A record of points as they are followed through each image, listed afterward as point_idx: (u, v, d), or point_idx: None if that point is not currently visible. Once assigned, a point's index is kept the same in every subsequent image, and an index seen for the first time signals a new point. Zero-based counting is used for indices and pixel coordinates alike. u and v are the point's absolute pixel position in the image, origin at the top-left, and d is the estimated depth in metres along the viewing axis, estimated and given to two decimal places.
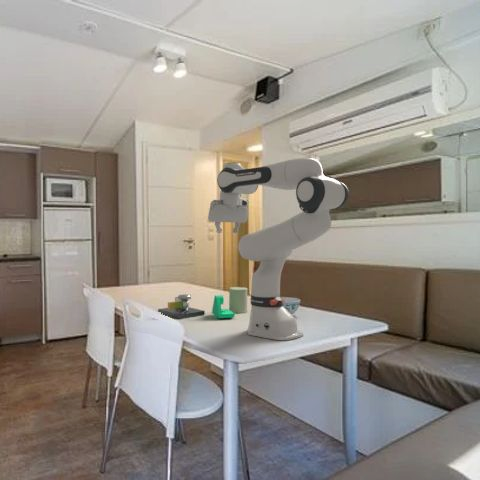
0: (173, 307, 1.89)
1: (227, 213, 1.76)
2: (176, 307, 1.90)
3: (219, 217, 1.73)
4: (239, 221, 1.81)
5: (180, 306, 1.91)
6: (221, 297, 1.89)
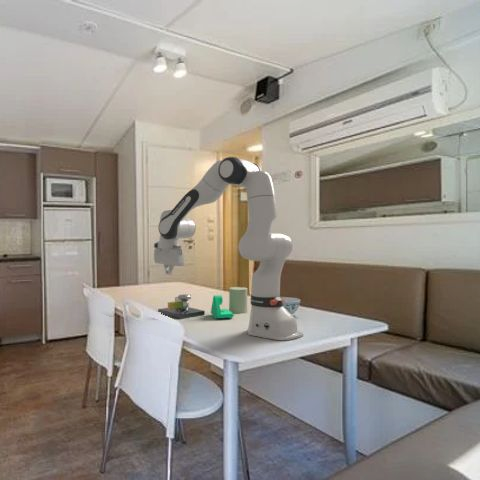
0: (173, 307, 1.89)
1: None
2: (176, 307, 1.90)
3: None
4: None
5: (180, 306, 1.91)
6: (220, 297, 1.88)
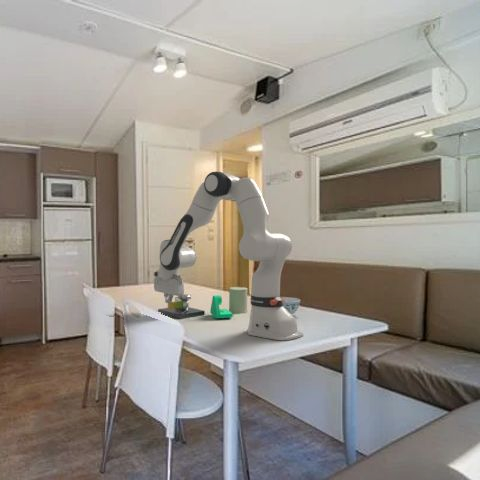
0: (173, 307, 1.89)
1: None
2: (176, 307, 1.90)
3: None
4: None
5: (180, 306, 1.91)
6: (219, 297, 1.88)
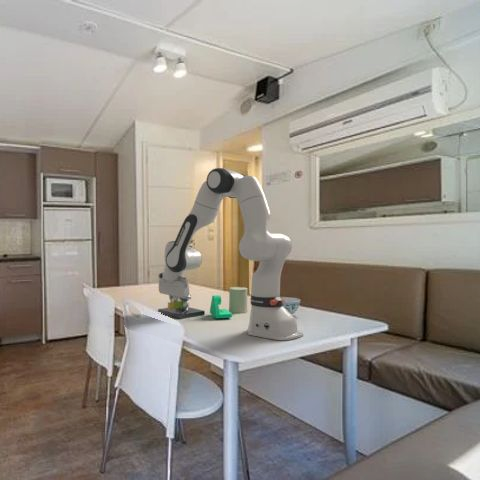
0: (173, 307, 1.88)
1: None
2: (176, 307, 1.90)
3: None
4: None
5: (180, 306, 1.91)
6: (219, 297, 1.88)
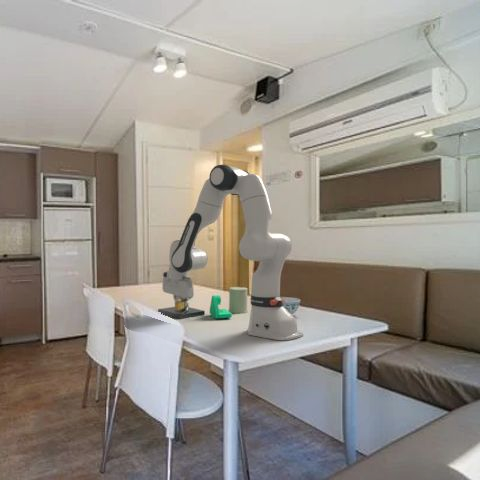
0: (180, 308, 1.87)
1: None
2: (181, 307, 1.89)
3: None
4: None
5: (183, 306, 1.91)
6: (218, 297, 1.88)
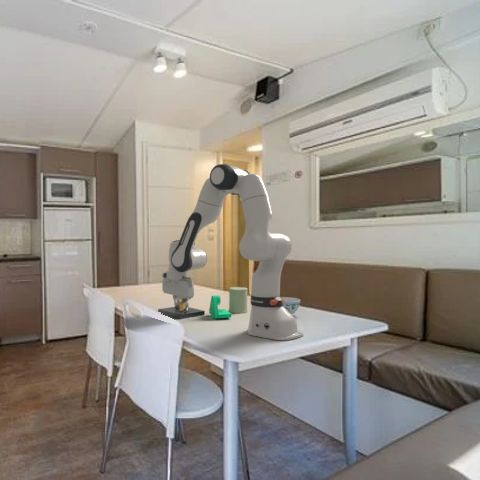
0: (184, 308, 1.87)
1: None
2: (184, 308, 1.89)
3: None
4: None
5: (185, 306, 1.91)
6: (218, 297, 1.88)
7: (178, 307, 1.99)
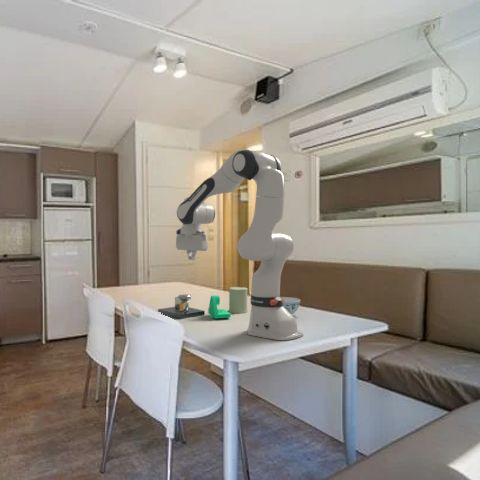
0: (184, 308, 1.87)
1: None
2: (184, 308, 1.89)
3: None
4: None
5: (185, 306, 1.91)
6: (217, 297, 1.88)
7: (178, 307, 1.99)
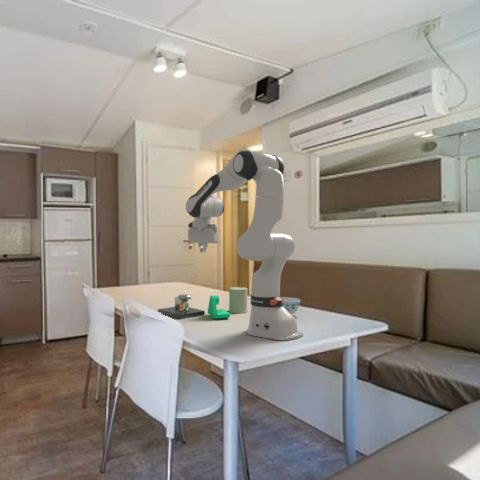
0: (184, 308, 1.87)
1: None
2: (184, 308, 1.89)
3: None
4: None
5: (185, 306, 1.91)
6: (217, 297, 1.88)
7: (178, 307, 1.99)
